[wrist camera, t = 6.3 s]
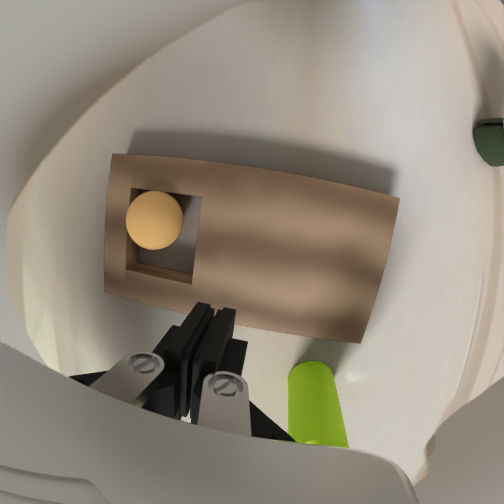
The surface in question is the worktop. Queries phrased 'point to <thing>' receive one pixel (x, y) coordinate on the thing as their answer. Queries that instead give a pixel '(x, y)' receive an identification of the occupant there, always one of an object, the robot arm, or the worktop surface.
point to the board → (257, 245)
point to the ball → (154, 220)
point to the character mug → (490, 141)
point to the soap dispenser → (314, 406)
